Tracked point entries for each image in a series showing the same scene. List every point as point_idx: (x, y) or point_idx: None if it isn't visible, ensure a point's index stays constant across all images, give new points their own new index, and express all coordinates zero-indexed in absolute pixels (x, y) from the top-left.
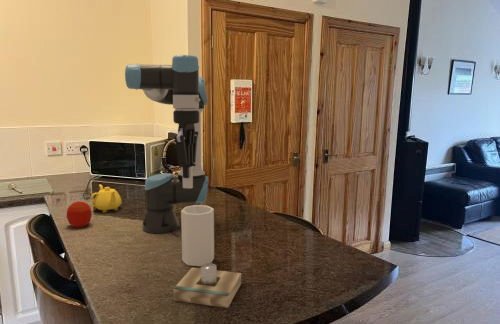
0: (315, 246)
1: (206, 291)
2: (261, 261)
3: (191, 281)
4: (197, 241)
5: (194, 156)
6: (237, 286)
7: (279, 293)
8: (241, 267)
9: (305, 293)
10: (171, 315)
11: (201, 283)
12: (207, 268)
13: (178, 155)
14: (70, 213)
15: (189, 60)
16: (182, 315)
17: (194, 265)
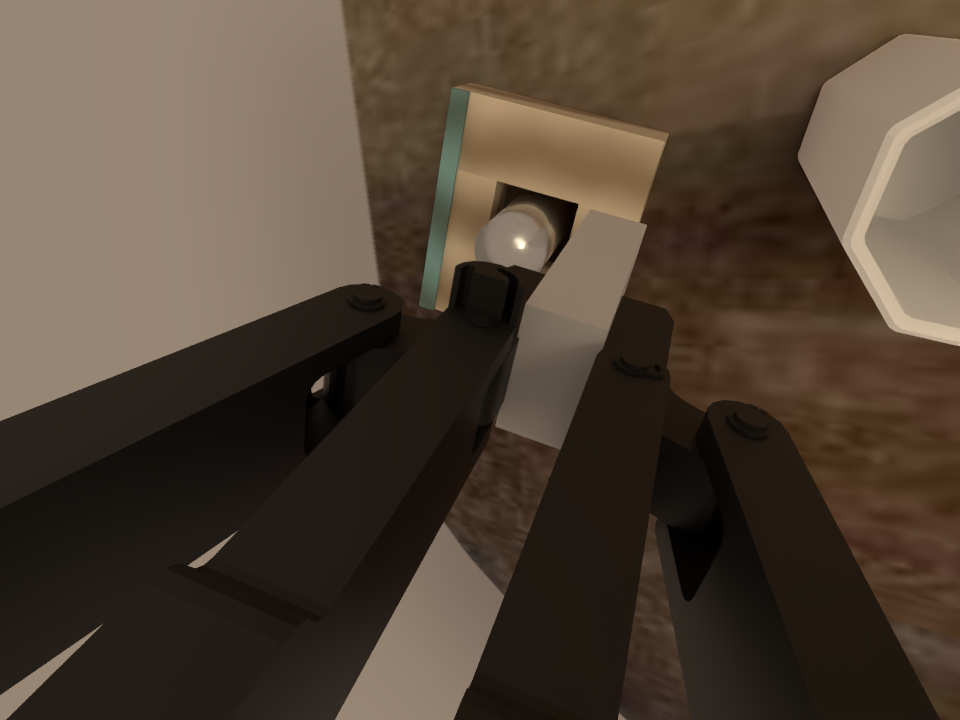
0: (944, 675)
1: (435, 230)
2: (812, 442)
3: (519, 158)
4: (818, 174)
5: (676, 600)
6: None
7: (533, 449)
8: (758, 354)
9: (534, 516)
10: (376, 97)
11: (511, 202)
12: (488, 249)
13: (181, 370)
14: None
15: None
16: (380, 138)
17: (808, 125)
